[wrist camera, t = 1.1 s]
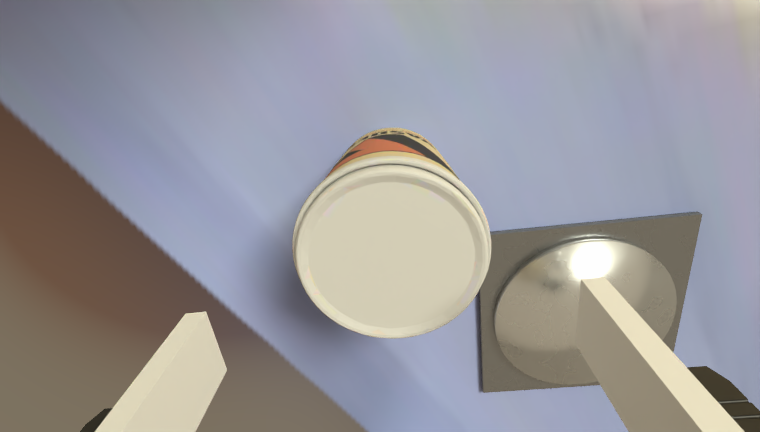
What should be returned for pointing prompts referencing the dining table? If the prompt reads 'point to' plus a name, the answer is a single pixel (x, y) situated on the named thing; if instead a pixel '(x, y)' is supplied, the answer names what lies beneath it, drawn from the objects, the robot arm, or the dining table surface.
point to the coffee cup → (391, 238)
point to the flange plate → (576, 292)
